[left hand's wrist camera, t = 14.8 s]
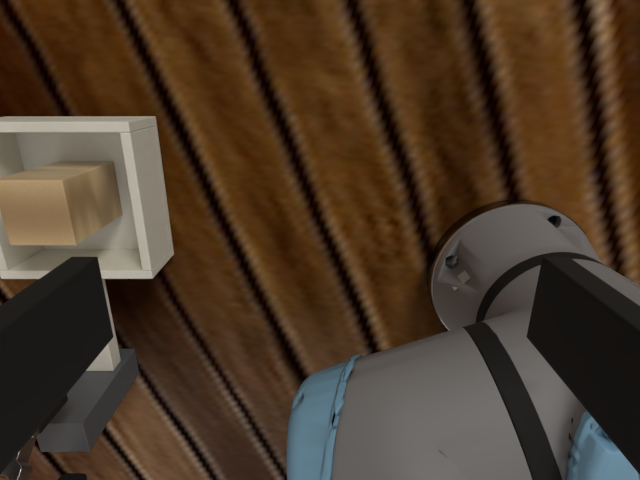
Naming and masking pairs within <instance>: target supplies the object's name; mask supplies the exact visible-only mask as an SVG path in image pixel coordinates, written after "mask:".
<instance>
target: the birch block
mask: <svg viewBox="0 0 640 480" xmlns="http://www.w3.org/2000/svg"><path fill="white" fill-rule="evenodd" d="M0 210H1V214H2V218H3V221H4V225H5V228H6V232H7V236H8V239H9V243H10V245H77V244H79V243H80V242H82V241H83V240H85V239H86V238H88V237H89V236H91V235H92V234H94V233H96V232H97V231H99V230H100V229H102V228H103V227H105V226H106V225H108V224H109V223H111V222H112V221H114V220H115V219H117V218H118V217H120V216H121V215H122V208H121V202H120V196H119V190H118V184H117V178H116V173H115V167H114V162H113V161H57V162H54V163H50V164H47V165H43V166H40V167H36V168H33V169H30V170H26V171H23V172H19V173H16V174H12V175H9V176H6V177H2V178H0Z"/></svg>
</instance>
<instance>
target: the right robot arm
mask: <svg viewBox="0 0 640 480" xmlns="http://www.w3.org/2000/svg"><path fill="white" fill-rule="evenodd" d="M67 401H68V396H67V394H66V395H65V397H64V398H63V399H62V400H61V401H60V403H59V404H58V405H57V406H56V408H55V409H54V410H53V411H52V412H51V414H50V415H49V416H48V417H47V419H46V420H45V421H44V422H43V423H42V425H41V426H40V427H39V428H38V430H37V431H36V432H35V433H34V434H33V436H32V437H31V438H30V439H29V440H28V442H27V443H26V444H25V445H24V447H23V448H22V449H21V450H20V451H19V453H18V454H17V455H16V456H15V458H14V459H13V460H12V461H11V462H10V464H9V465H8V466H7V467H6V468H5V470H4V471H3V472H2V473H1V475H0V477H6V478H7V479H8V480H30V477H31V474H32V466H31V465H30V464H29V463H28V460H29V457H30V454H31V451H32V449H33V446H34V443H35V440H36V437H37V434H41V433H42V431H43V430H44V429H45V428H46V426H47V425H48V424H49V423H50V422H51V420H52V419H53V418H54V417H55V416H56V414H57V413H58V412H59V411H60V410H61V408H62V407H63V406H64V405H65V403H66V402H67ZM58 480H87V476H86V474H70V473H68V474H64V475H62V476H61V477H60V478H59V479H58Z"/></svg>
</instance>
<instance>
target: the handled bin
mask: <svg viewBox="0 0 640 480" xmlns="http://www.w3.org/2000/svg"><path fill="white" fill-rule="evenodd" d="M57 161H113V162H114V167H115V173H116V178H117V184H118V190H119V196H120V202H121V208H122V215H121V216H120V217H118V218H117V219H115V220H114V221H112V222H111V223H109V224H108V225H106V226H105V227H103V228H102V229H100V230H99V231H97V232H96V233H94V234H92V235H91V236H89V237H88V238H86V239H85V240H83V241H82V242H80V243H79V244H77V245H10V243H9V239H8V236H7V232H6V228H5V225H4V221H3V218H2V214H1V210H0V276H1V279H40V278H41V277H43V276H44V275H46V274H47V273H49V272H50V271H52V270H53V269H55V268H56V267H57V266H59V265H60V264H62V263H63V262H65V261H66V260H68V259H69V258H70V257H98V262H99V267H100V272H101V277H102V282H103V287H104V292H105V297H106V302H107V307H108V312H109V317H110V322H111V327H112V332H113V338H112V339H111V341H110V342H109V343H108V344H107V345H106V347H105V348H104V349H103V350H102V352H101V353H100V354H99V355H98V356H97V358H96V359H95V360H94V361H93V363H92V364H91V365H90V366H89V367H88V369H87V370H86V371H85V372H84V373H83V375H82V376H81V377H80V378H79V380H78V381H77V382H76V383H75V384H74V386H73V387H72V388H71V389H70V391H69V392H68V393H67V396H68V401H67V402H66V403H65V405H64V406H63V407H62V408H61V410H60V411H59V412H58V413H57V414H56V416H55V417H54V418H53V419H52V420H51V422H50V423H49V424H48V425H47V426H46V428H45V429H44V430H43V431H42V433H41V434H37V440H38V443H39V447H40V450H41V452H89V451H90V450H91V449H92V447H93V445H94V444H95V442H96V441H97V439H98V437H99V436H100V434H101V433H102V431H103V429H104V428H105V426H106V425H107V423H108V421H109V420H110V418H111V417H112V415H113V414H114V412H115V410H116V409H117V407H118V406H119V404H120V402H121V401H122V399H123V398H124V396H125V394H126V393H127V391H128V390H129V388H130V387H131V385H132V383H133V382H134V380H135V379H136V377H137V375H138V374H139V370H138V364H137V359H136V353H135V349H118V344H117V339H116V334H115V329H114V324H113V319H112V314H111V309H110V304H109V299H108V294H107V289H106V284H105V279H153V278H154V277H155V275H156V274H157V273H158V272H159V271H160V270H161V268H162V267H163V266H164V265H165V264H166V263H167V261H168V260H169V259H170V258H171V257H172V256H173V255H174V250H173V243H172V235H171V228H170V220H169V212H168V205H167V197H166V190H165V182H164V175H163V167H162V160H161V152H160V145H159V137H158V130H157V122H156V116H14V117H0V178H2V177H6V176H9V175H12V174H16V173H19V172H23V171H26V170H30V169H33V168H36V167H40V166H43V165H47V164H50V163H54V162H57Z"/></svg>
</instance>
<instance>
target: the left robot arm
mask: <svg viewBox="0 0 640 480" xmlns="http://www.w3.org/2000/svg"><path fill="white" fill-rule="evenodd" d="M427 285H428V292H429V296H430V299H431V302H432V304H433V307H434V309H435V311H436V313H437V315H438V316H439V318H440V320H441V321H442V323H443V324H444V325H445V327H446V328H447V329H448V330H449V331H446V332H443V333H440V334H436V335H433V336H430V337H426V338H423V339H420V340H416V341H413V342H410V343H407V344H403V345H400V346H397V347H393V348H390V349H387V350H383V351H380V352H377V353H374V354H370V355H367V356H364V357H362V356H361V355H359V354H358V355H354V356H352V357H351V358H350V359H349V360H348V361H346V362H343V363H340V364H337V365H334V366H332V367H329V368H326V369H323V370H320V371H318V372H315V373H313V374H312V375H310V376H309V377H308V378H307V379H305V381H304V382H303V383H302V384H301V386H300V387H299V389H298V391H297V393H296V395H295V398H294V401H293V405H292V409H291V414H290V418H289V425H288V435H287V480H640V286H638V285H637V284H635V283H633V282H632V281H630V280H628V279H627V278H625V277H623V276H622V275H620V274H619V273H617V272H615V271H614V270H612V269H610V268H608V267H607V266H605V265H603V264H602V262H601V261H600V259H599V257H598V256H597V254H596V252H595V250H594V249H593V247H592V245H591V244H590V242H589V240H588V238H587V236H586V235H585V233H584V232H583V230H582V229H581V228H580V227H579V226H578V225H577V224H576V223H575V222H574V221H573V220H572V219H570V218H569V217H568V216H566V215H564V214H563V213H561V212H559V211H557V210H555V209H553V208H551V207H549V206H547V205H544V204H541V203H538V202H534V201H529V200H505V201H499V202H495V203H491V204H488V205H485V206H483V207H480V208H478V209H476V210H474V211H472V212H471V213H469V214H467V215H466V216H464V217H463V218H461V219H460V220H459V221H458V222H456V223H455V224H454V225H453V226H452V227H451V228H450V229H449V230H448V231H447V232H446V233H445V235H444V236H443V237H442V239H441V240H440V242H439V243H438V245H437V247H436V248H435V250H434V253H433V255H432V258H431V260H430V264H429V268H428V276H427ZM112 338H113V332H112V327H111V322H110V317H109V312H108V307H107V302H106V297H105V292H104V287H103V282H102V277H101V272H100V267H99V262H98V257H70V258H69V259H68V260H66V261H65V262H63V263H62V264H60V265H59V266H57V267H56V268H55V269H53V270H52V271H50V272H49V273H47V274H46V275H44V276H43V277H41V278H40V279H39V280H37V281H36V282H34V283H33V284H31V285H30V286H28V287H27V288H26V289H24V290H23V291H21V292H20V293H18V294H17V295H15V296H14V297H12V298H11V299H10V300H8V301H7V302H5V303H4V304H2V305H1V306H0V475H1V473H2V472H3V471H4V470H5V468H6V467H7V466H8V465H9V464H10V462H11V461H12V460H13V459H14V458H15V456H16V455H17V454H18V453H19V451H20V450H21V449H22V448H23V447H24V445H25V444H26V443H27V442H28V440H29V439H30V438H31V437H32V436H33V434H34V433H35V432H36V431H37V430H38V428H39V427H40V426H41V425H42V423H43V422H44V421H45V420H46V419H47V417H48V416H49V415H50V414H51V412H52V411H53V410H54V409H55V408H56V406H57V405H58V404H59V403H60V401H61V400H62V399H63V398H64V397H65V395H66V394H67V393H68V392H69V391H70V389H71V388H72V387H73V386H74V384H75V383H76V382H77V381H78V380H79V378H80V377H81V376H82V375H83V373H84V372H85V371H86V370H87V369H88V367H89V366H90V365H91V364H92V363H93V361H94V360H95V359H96V358H97V356H98V355H99V354H100V353H101V352H102V350H103V349H104V348H105V347H106V345H107V344H108V343H109V342H110V341H111V339H112Z"/></svg>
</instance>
